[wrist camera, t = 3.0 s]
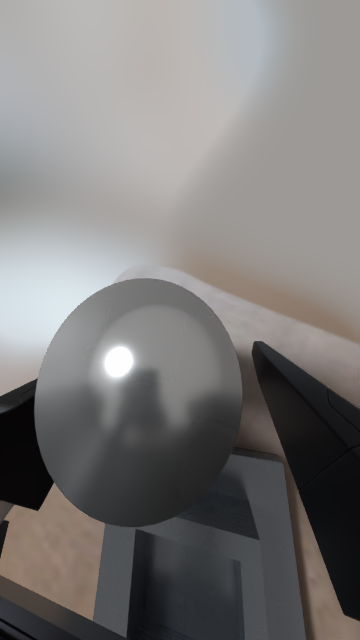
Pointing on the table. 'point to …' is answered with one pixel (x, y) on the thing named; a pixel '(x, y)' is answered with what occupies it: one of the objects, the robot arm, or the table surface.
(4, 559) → the table surface
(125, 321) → the silver banded cylinder
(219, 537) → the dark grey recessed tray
